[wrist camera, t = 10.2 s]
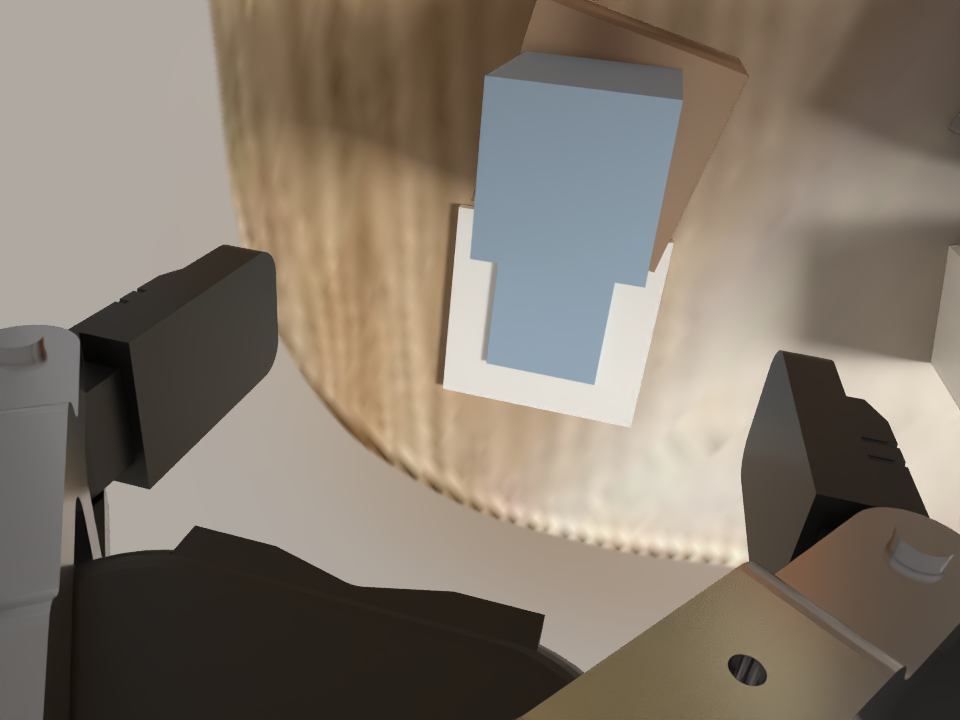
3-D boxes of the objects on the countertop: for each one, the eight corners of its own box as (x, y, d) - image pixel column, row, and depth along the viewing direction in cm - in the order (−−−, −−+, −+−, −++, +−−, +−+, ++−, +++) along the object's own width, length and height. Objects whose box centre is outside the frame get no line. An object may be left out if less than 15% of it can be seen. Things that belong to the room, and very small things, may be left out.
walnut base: (738, 57, 28) (749, 76, 24) (657, 229, 31) (654, 272, 27) (559, -11, 28) (537, -5, 24) (499, 167, 32) (471, 200, 27)
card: (673, 240, 31) (673, 245, 31) (630, 423, 36) (630, 431, 35) (461, 204, 33) (457, 209, 32) (445, 384, 37) (441, 391, 36)
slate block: (682, 69, 24) (683, 100, 19) (652, 222, 26) (645, 287, 21) (525, 50, 25) (485, 75, 20) (510, 201, 27) (470, 258, 22)
